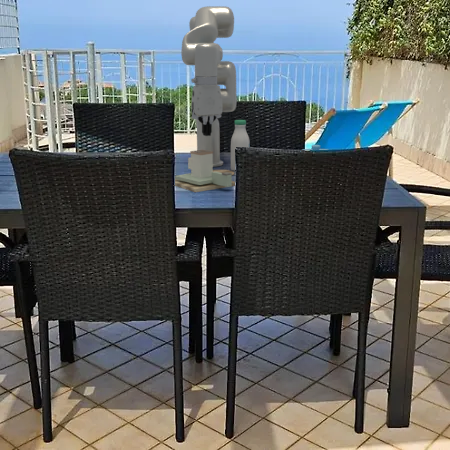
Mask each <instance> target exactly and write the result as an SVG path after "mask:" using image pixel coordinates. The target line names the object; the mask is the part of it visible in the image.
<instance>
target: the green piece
mask: <svg viewBox="0 0 450 450" xmlns="http://www.w3.org/2000/svg"><path fill="white" fill-rule="evenodd" d="M232 178H233V175H232V173H229V172H225V173H220V172H212V176H211V177H205V178H198V177H193V176H191V172H189V173H184V174H179V175H178V174H177V175H174V179H177V180H181V181H185V182H189V183H193V184H197V185H203V184H208V183H213V184H217V185H221V186H225V188H229V187H230V188H231V187H233V186H232V181H233V179H232Z"/></svg>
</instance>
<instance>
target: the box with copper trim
mask: <svg viewBox="0 0 450 450" xmlns="http://www.w3.org/2000/svg"><path fill="white" fill-rule="evenodd" d="M189 153H190V157H187V163H188V164H187V165H188V166H187V169H188V170H190V171H191V172H190V173H191V176H193V177H198V178H205V177H211V176H212V172H213V170H214V169H213V155H212V153H213V151H208V150H197V149H196V150H191V151H190V152H189Z"/></svg>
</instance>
